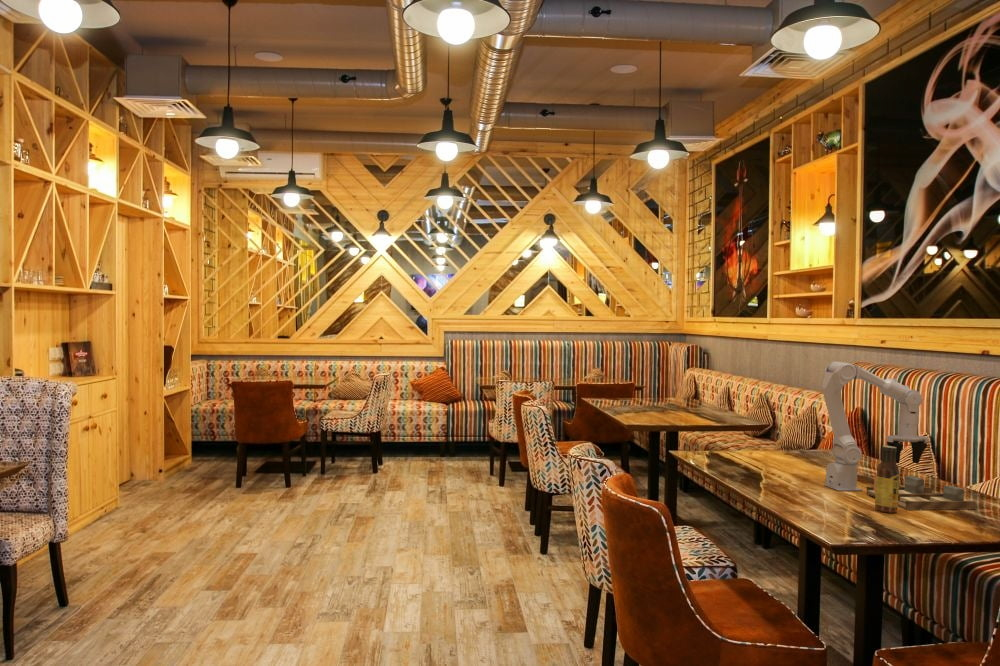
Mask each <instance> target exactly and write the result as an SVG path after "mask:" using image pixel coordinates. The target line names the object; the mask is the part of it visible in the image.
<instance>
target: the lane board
mask: <svg viewBox="0 0 1000 666" xmlns="http://www.w3.org/2000/svg"><path fill="white" fill-rule="evenodd" d="M904 488H905V486H899V490H904ZM942 489H943V491H942V493H933V487H931V486H924V494H898V506H899V507H898V508H900V509H903V508H904V509H903V510H906V509H907V510H906V511H934V510H933V509H936V510H935V511H938V510H937V509H970V510H969V511H972V510H971V509H975V510H976V501H974V500H964V499H965V489H964V488H961V487H958V486H955V485H951V484H950V485H946V484H945V485H943V488H942ZM868 490H874V486H867V487H866V495H867V494H868V495H867V496H869V495H871V496H870V497H872V496H873V497H872V498H874V497H875V496H874V495H872V494H869V493H868ZM916 509H918V510H916ZM920 509H922V510H920ZM927 509H928V510H927ZM930 509H931V510H930Z"/></svg>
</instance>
